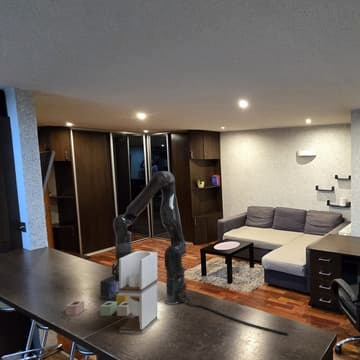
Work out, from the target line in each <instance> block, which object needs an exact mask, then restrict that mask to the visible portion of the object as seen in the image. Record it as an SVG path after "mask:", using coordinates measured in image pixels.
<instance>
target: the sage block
mask: <svg viewBox="0 0 360 360" xmlns="http://www.w3.org/2000/svg"><path fill="white" fill-rule="evenodd" d="M117 306H118V304H117V302H116V301H109V300H107V301H106V302H105V303H103V304H101V305H100V306H99V315H100V316H101V317H111V316H112V315H113V314H115V313H117Z"/></svg>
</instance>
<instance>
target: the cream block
mask: <svg viewBox="0 0 360 360" xmlns="http://www.w3.org/2000/svg"><path fill="white" fill-rule="evenodd" d="M130 314H132V313H131V312H130V311H129V301H128V302H123V303H121V304H118V305H117V311H116V317H128V316H129V315H130Z"/></svg>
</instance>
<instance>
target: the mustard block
mask: <svg viewBox="0 0 360 360" xmlns="http://www.w3.org/2000/svg"><path fill="white" fill-rule="evenodd" d="M115 302H117V305H120V304H121V303H123V302H129V296H120V295H119V294H117V295H116V297H115Z"/></svg>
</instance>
